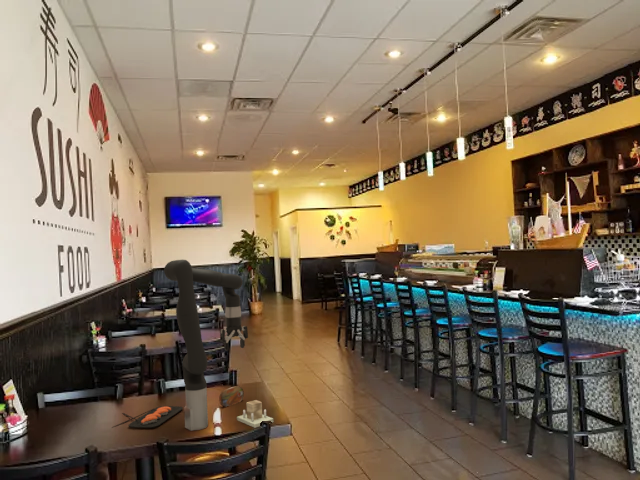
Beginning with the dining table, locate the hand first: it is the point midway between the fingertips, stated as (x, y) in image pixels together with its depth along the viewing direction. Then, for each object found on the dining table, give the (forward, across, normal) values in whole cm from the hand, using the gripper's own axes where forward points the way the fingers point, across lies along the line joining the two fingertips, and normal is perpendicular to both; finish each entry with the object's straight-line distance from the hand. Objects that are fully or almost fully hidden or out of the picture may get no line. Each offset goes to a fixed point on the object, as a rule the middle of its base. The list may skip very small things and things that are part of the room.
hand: (234, 349), depth 244 cm
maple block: (+29, -2, -19) cm, 34 cm away
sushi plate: (+31, -37, +25) cm, 54 cm away
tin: (+30, +4, +12) cm, 33 cm away
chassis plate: (+30, -2, -19) cm, 36 cm away
